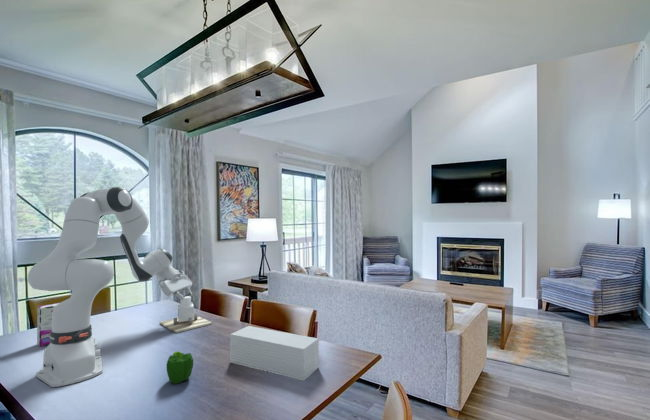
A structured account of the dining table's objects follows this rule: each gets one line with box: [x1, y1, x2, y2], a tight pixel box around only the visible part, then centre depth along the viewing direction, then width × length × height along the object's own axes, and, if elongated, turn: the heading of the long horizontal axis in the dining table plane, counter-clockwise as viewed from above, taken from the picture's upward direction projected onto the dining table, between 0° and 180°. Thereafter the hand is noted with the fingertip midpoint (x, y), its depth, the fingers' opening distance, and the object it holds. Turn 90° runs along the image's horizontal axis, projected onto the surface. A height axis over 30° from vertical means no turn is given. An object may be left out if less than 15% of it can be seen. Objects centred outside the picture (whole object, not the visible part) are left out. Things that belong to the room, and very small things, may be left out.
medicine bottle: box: [177, 294, 195, 322], centre depth 166 cm, size 7×7×12 cm
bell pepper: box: [166, 351, 194, 385], centre depth 108 cm, size 8×8×10 cm
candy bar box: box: [36, 302, 60, 348], centre depth 142 cm, size 11×5×16 cm, turn 143°
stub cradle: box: [159, 313, 213, 334], centre depth 166 cm, size 20×18×4 cm
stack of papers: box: [229, 325, 319, 381], centre depth 120 cm, size 32×11×11 cm, turn 64°
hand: (187, 296), depth 166 cm, fingers closed on medicine bottle, 6 cm apart
